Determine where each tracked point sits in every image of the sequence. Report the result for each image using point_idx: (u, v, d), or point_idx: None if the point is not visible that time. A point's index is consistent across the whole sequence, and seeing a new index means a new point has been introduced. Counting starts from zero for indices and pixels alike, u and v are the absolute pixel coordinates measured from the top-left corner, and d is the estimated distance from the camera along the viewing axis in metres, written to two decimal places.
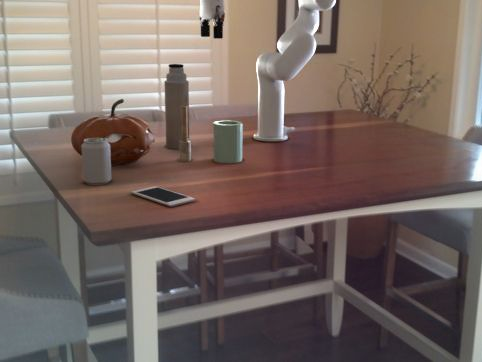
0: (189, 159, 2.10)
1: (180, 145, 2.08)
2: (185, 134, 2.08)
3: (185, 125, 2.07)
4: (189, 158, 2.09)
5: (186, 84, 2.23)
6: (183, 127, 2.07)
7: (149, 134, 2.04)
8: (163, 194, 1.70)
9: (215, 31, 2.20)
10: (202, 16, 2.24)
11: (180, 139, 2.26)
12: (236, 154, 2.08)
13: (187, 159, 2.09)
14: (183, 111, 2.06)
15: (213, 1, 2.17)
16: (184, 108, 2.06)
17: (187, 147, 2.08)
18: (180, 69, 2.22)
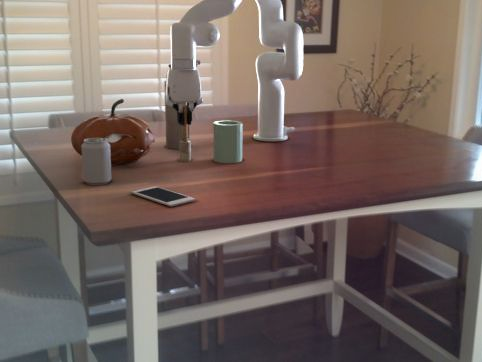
0: (189, 159, 2.10)
1: (180, 145, 2.08)
2: (185, 134, 2.08)
3: (185, 125, 2.07)
4: (189, 158, 2.09)
5: None
6: (183, 127, 2.07)
7: (149, 134, 2.04)
8: (163, 194, 1.70)
9: (190, 117, 2.07)
10: (179, 99, 2.02)
11: (180, 139, 2.26)
12: (236, 154, 2.08)
13: (187, 159, 2.09)
14: (183, 111, 2.06)
15: (200, 82, 2.05)
16: (184, 108, 2.06)
17: (187, 147, 2.08)
18: None
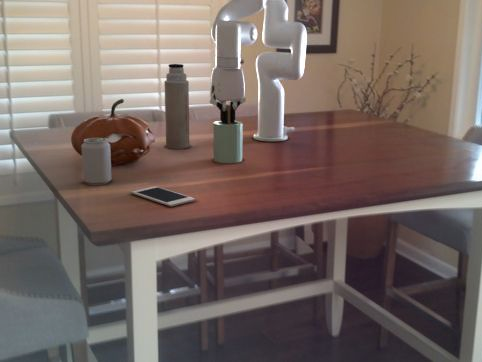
0: None
1: None
2: None
3: (228, 124, 2.08)
4: None
5: (186, 84, 2.23)
6: None
7: (149, 134, 2.04)
8: (163, 194, 1.70)
9: None
10: (223, 98, 2.04)
11: (180, 139, 2.26)
12: (236, 154, 2.08)
13: None
14: (226, 109, 2.07)
15: None
16: (228, 107, 2.07)
17: None
18: (180, 69, 2.22)
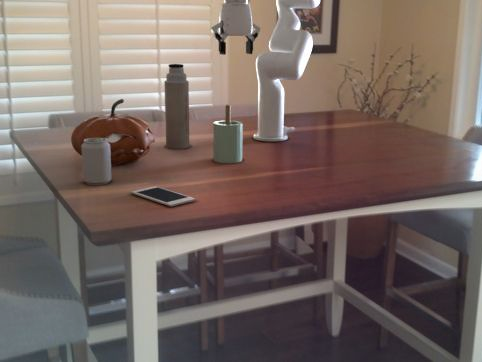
0: None
1: None
2: None
3: (228, 123, 2.08)
4: None
5: (186, 84, 2.23)
6: None
7: (149, 134, 2.04)
8: (163, 194, 1.70)
9: None
10: (231, 32, 2.11)
11: (180, 139, 2.26)
12: (236, 154, 2.08)
13: None
14: (226, 109, 2.07)
15: None
16: (228, 107, 2.07)
17: None
18: (180, 69, 2.22)
